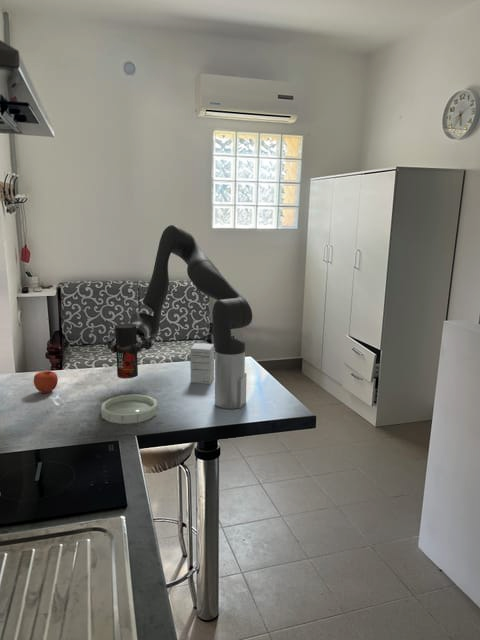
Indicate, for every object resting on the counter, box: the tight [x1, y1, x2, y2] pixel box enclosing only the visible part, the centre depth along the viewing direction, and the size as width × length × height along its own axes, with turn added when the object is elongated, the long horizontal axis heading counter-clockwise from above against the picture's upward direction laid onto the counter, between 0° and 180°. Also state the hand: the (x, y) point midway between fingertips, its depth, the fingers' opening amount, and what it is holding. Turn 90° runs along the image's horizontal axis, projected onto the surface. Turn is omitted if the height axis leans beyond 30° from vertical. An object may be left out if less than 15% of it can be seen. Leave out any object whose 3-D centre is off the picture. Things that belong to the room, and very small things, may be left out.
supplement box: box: [189, 342, 215, 385], centre depth 172 cm, size 7×7×13 cm
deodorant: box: [114, 322, 139, 380], centre depth 141 cm, size 6×6×15 cm
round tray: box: [100, 393, 158, 425], centre depth 144 cm, size 16×16×2 cm
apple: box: [33, 368, 59, 395], centre depth 159 cm, size 7×7×8 cm
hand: (124, 349), depth 139 cm, fingers closed on deodorant, 6 cm apart
